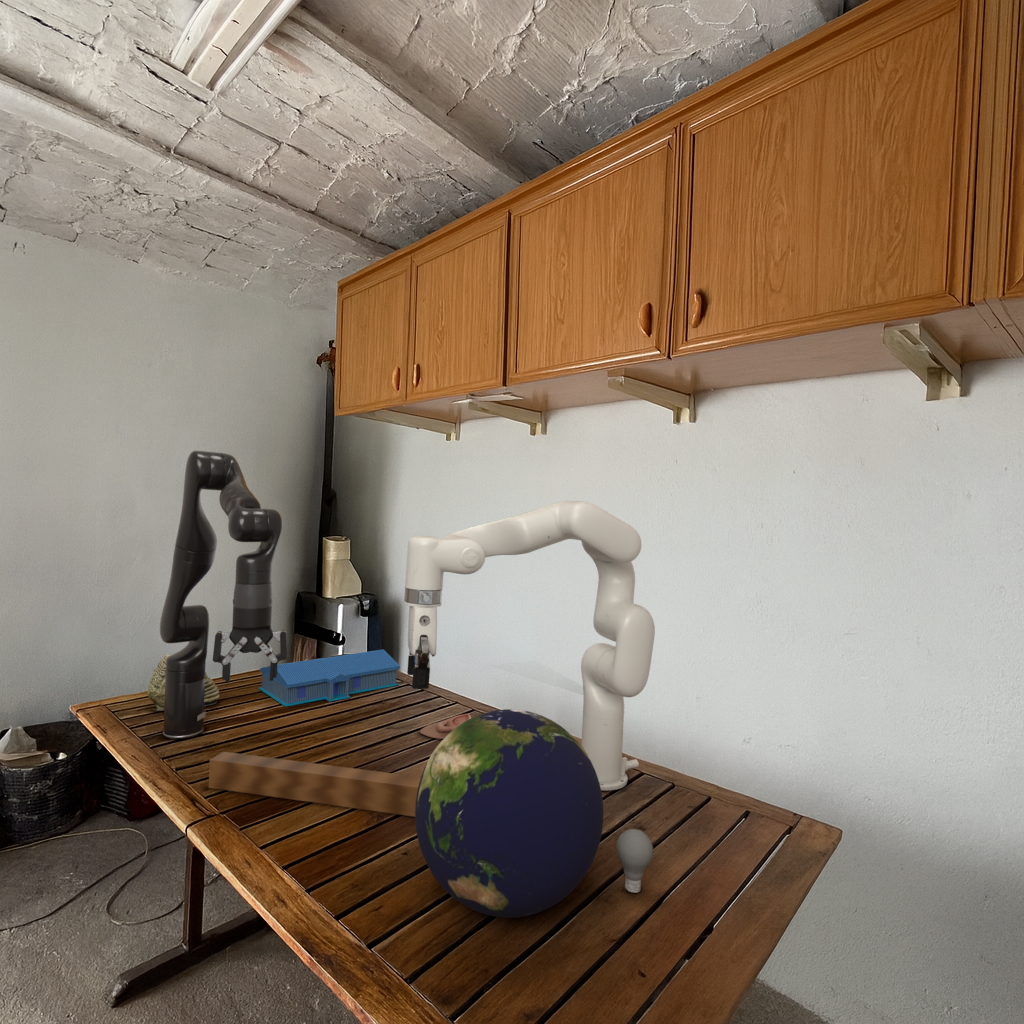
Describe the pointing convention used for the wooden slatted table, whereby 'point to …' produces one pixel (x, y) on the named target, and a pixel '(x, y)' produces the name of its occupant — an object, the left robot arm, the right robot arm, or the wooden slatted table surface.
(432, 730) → the anatomical model
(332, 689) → the model building
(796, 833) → the wooden slatted table surface
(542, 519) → the right robot arm
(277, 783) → the post
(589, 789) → the globe
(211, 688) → the fossil
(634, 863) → the light bulb
